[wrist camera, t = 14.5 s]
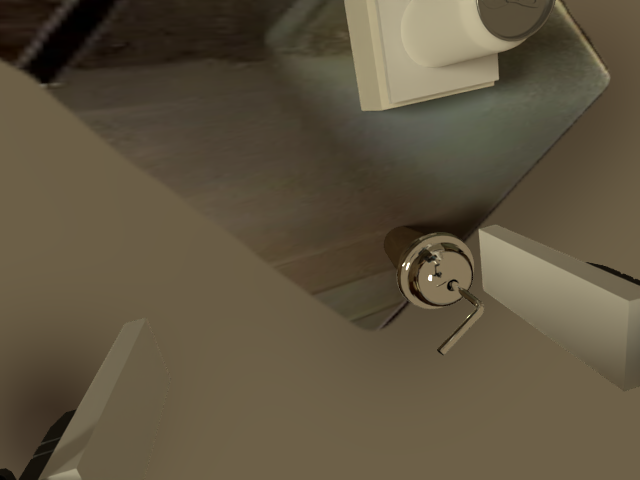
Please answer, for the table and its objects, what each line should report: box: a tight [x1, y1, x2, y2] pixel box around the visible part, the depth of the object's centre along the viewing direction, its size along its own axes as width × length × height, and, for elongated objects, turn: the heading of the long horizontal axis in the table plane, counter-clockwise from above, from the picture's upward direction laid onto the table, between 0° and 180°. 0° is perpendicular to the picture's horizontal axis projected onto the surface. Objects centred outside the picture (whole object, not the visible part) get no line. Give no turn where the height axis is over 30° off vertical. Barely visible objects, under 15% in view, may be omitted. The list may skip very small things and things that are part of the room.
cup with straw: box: [384, 226, 484, 355], centre depth 42 cm, size 8×9×20 cm
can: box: [401, 0, 556, 68], centre depth 31 cm, size 6×6×12 cm
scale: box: [344, 0, 499, 111], centre depth 41 cm, size 12×13×9 cm
